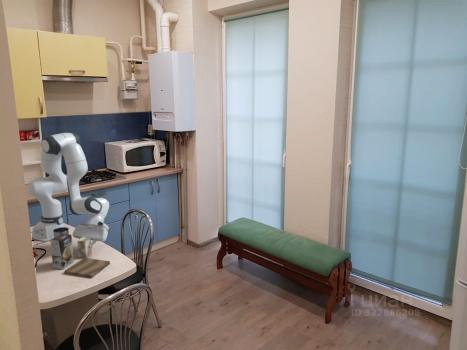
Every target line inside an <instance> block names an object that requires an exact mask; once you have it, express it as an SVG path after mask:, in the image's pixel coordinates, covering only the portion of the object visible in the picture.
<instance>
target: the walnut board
mask: <svg viewBox="0 0 467 350" xmlns="http://www.w3.org/2000/svg"><path fill="white" fill-rule="evenodd" d="M109 265H111V261H109V260H103V259H97V258H89V257H87V258H83V257H82V258H81V259H79V261H77V262H75V263H74V264H72V265H71V266H69V267H68V268H67V269H65V270H64V274H65V275H70V276H71V275H72V276H77V277H83V278H90V279H92V278H94V277H95V276H97V275H98V274H99V273H100V272H101V271H103V270H104V269H105V268H107V267H108V266H109Z"/></svg>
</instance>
